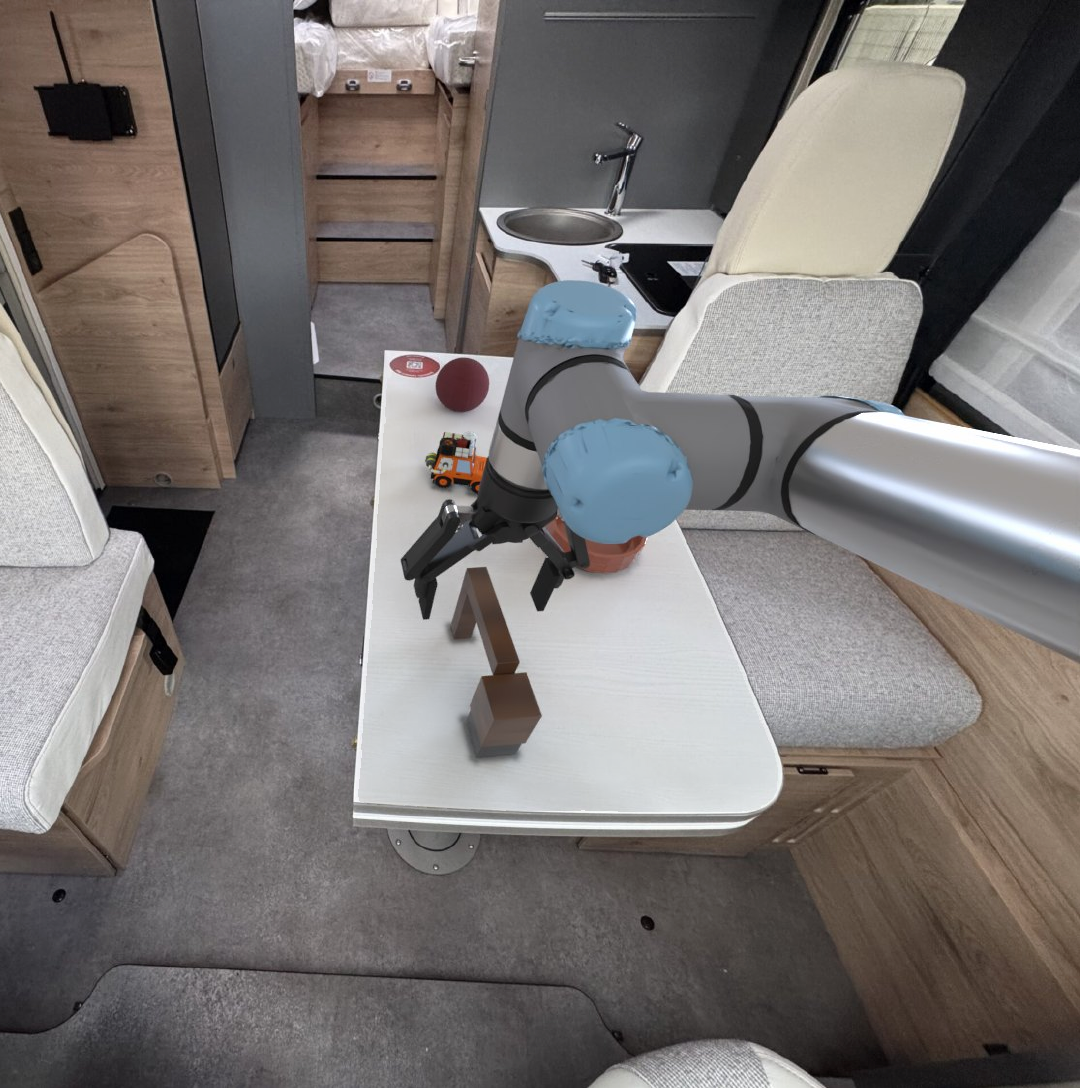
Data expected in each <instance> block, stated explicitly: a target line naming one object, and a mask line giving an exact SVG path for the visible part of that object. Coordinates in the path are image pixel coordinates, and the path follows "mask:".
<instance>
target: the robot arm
mask: <svg viewBox="0 0 1080 1088" xmlns="http://www.w3.org/2000/svg"><path fill="white" fill-rule="evenodd" d="M637 313H638V311H637V308H636V305H635V304H634V302H633V301H632V300H631V299H630V297H629V296H627V295H626V294H625V293H623V292H621V291H620V290H618V289H616V288H613V287H610V286H608V285H606V284H602V283H598V282H595V281H589V280H588V281H587V280H574V279H571V280H570V279H569V280H568V279H566V280H559V281H554V282H551V283H548V284H546V285H543V286H542V287H541V288H539V289H538V290H537V291H536V292H535V293H534V295H533V296H532V297H531V299H530V301H529V304H528V308H527V310H526V314H525V317H524V319H523V323H522V325H521V328H520V329H519V330H518V332H517V336H516V337H517V342H516V347H515V351H514V355H513V357H512V362H511V367H510V370H509V374H508V378H507V381H506V386H505V389H504V393H503V397H502V400H501V403H500V404H501V405H500V408H499V413H498V416H497V419H496V423H495V426H494V431H493V434H492V438H491V441H490V445H489V449H488V455H487V460H486V463H485V467H484V470H483V474H482V478H481V481H480V485H479V491H478V494H477V497H476V499H475V500H474V501H473V502H472V503H471V505H457V504H456V502H455V500H454V499H452V498H449V499H448V498H447V499H445V500H444V501H443V502H442V504H441V507H440V509H439V512H438V515H437V517H435V519H434V520H433V521H432V522H431V523H430V524H429V526H427V528H426V529H425V530H424V531H423V532H422V534H421V535H420V536H419V537H418V538H417V540H416V541H415V542H414V543H413V544H412V545H411V547H409V549H408V550H407V551H406V552H405V553H404V554H403V555H402V557H401V558H400V564H401V569H402V572H403V573H402V574H403V579H404V580H405V581H408V582H409V581H414V582H413V589H414V593H415V596H416V599H418V604H419V610H420V614H421V617H422V620H423V621H424V620H425V621H426V620H430V618H431V614H432V610H433V605H434V601H435V598H436V597H435V596H436V593H437V589H438V585H439V583H438V580H437V577H439V576H440V575H442V574H443V573H445V572H446V571H448V570H449V569H450V568H452V567H453V566H454V565H456V564H457V563H459V562H460V561H462V560H463V559H464V558H466V557H467V556H469V555H471V554H472V553H473V552H481V551H482V550H484V549H486V548H487V547H489V546H490V545H491V544H492V545H501V544H505V543H511V544H520V543H521V544H523V542H524V541H526V540H529V539H530V540H531V541H532V542H533V544H534V545H535V546H536V547H537V548H538V549H540V550H541V551H542V553H543V554H545V556H546V557H544V560H543V562H542V564H541V567H540V569H539V571H538V574H537V576H536V578H535V580H534V583H533V585H532V588H531V590H530V592H529V595H530V597H531V599H532V602H533V604H534V607H535V609H536V612H538V613H539V612H544V611H545V609H546V607H547V604H548V603H549V600H550V598H551V597H552V594H553V592H554V590H555V589H559V588H560V587H561V586H562V585H563V583H564V581H565V580H571V579H573V578H574V577H575V575H576V573H575V571H574V568H578V567H579V569H580V570H583V569H585V568H587V567H589V566H590V561H589V556H588V551H587V546H586V542H585V539H587V540H589V541H593V542H597V543H602V544H623V543H626V542H627V541H628V540H629V539H631V538H633V537H636V536H642V537H644V538H646V537H647V538H649V537H651V536H653V535H655V534H657V533H659V532H661V531H662V530H664V529H666V528H668V527H669V526H670V525H671V524H673V523H674V522H675V521H676V520H677V519H678V518H679V517H680V516H681V515H682V513H684V511H725V512H727V511H728V512H729V511H730V512H734V511H735V512H759V513H764V514H767V515H768V514H769V515H772V516H774V517H777V518H779V519H781V520H783V521H785V522H787V523H789V524H790V525H793V526H795V527H796V528H799V529H802V530H803V531H805V532H808V533H810V534H812V535H815V536H818V537H819V538H822V539H824V540H826V541H828V542H830V543H832V544H834V545H836V546H839V547H840V548H843V549H845V550H846V551H849V552H851V553H852V554H855V555H857V556H859V557H861V558H863V559H865V560H867V561H869V562H870V563H873V564H874V565H877V566H879V567H880V568H881V567H882V568H883V569H886V570H888V571H889V572H892V573H894V574H896V575H897V576H900V577H902V578H904V579H906V580H908V581H910V582H912V583H914V584H916V585H918V586H920V587H922V588H924V589H926V590H929V591H930V592H931V593H934V594H936V595H938V596H941V597H942V598H944V599H947V600H948V601H950V602H953V603H955V604H957V605H959V606H961V607H963V608H965V609H967V610H969V611H971V612H972V613H974V614H977V615H979V616H981V617H983V618H985V619H987V620H989V621H991V622H993V623H995V624H998V625H999V626H1002V627H1003V628H1006V629H1008V630H1010V631H1012V632H1014V633H1016V634H1018V635H1020V636H1022V637H1024V638H1026V639H1028V640H1030V641H1033V643H1036V644H1038V645H1040V646H1042V647H1044V648H1046V649H1049V650H1051V651H1053V652H1054V653H1056V654H1058V655H1060V656H1063V657H1065V658H1066V659H1069V660H1070V661H1073V662H1074V663H1077V664H1079V665H1080V449H1076V448H1069V447H1064V446H1059V445H1054V444H1050V443H1049V444H1048V443H1044V442H1039V441H1034V440H1029V439H1024V438H1020V437H1014V436H1009V435H1004V434H998V433H993V432H989V431H983V430H979V429H974V428H968V427H963V426H959V425H953V424H948V423H943V422H938V421H933V420H928V419H923V418H918V417H912V416H909V415H905V414H904V412H902V410H901V409H899V408H898V407H896V406H894V405H892V404H890V403H887V402H884V401H879V400H868V399H863V398H858V397H852V396H840V395H820V396H817V397H816V396H815V397H814V396H813V397H812V396H810V397H809V396H766V395H765V396H763V395H761V396H760V395H736V394H715V393H714V394H713V393H686V392H685V393H684V392H662V391H661V392H657V391H654V392H652V391H646V390H642V388H641V387H640V385H639V383H638V382H637V381H636V378H635V377H634V376H633V374H632V373H631V371H630V369H629V367H628V365H627V364H626V363H625V361H624V353H625V352H626V350H627V349H628V347H629V346H630V345H631V344H632V341H633V340H632V336H633V332H634V329H635V325H636V322H637V318H638V316H637ZM557 515H559V517H560V519H561V520H562V521H564V525H565V529H566V533H567V537H568V541H569V545H570V550H571V551H569V552H564V551H563V549H562V548H561V547H560V546H559V545H558V543H557V542H556V541H555V540H554V538H553V537H552V536H551V535H550V533H549V532H548V531H547V530H546V529H545V526H546V525H547V524H549V523H550V522H551V521H553V520H554V519H555V518H556V516H557ZM477 530H478V531H477ZM478 532H479V533H480V534H481V535H480V536H479V533H478Z"/></svg>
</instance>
